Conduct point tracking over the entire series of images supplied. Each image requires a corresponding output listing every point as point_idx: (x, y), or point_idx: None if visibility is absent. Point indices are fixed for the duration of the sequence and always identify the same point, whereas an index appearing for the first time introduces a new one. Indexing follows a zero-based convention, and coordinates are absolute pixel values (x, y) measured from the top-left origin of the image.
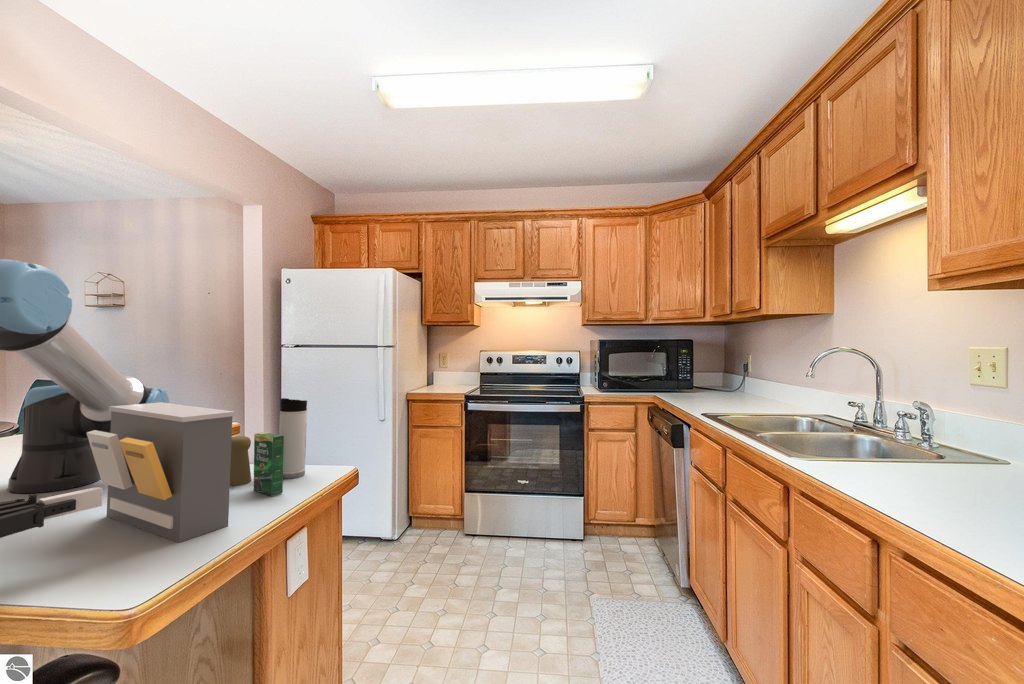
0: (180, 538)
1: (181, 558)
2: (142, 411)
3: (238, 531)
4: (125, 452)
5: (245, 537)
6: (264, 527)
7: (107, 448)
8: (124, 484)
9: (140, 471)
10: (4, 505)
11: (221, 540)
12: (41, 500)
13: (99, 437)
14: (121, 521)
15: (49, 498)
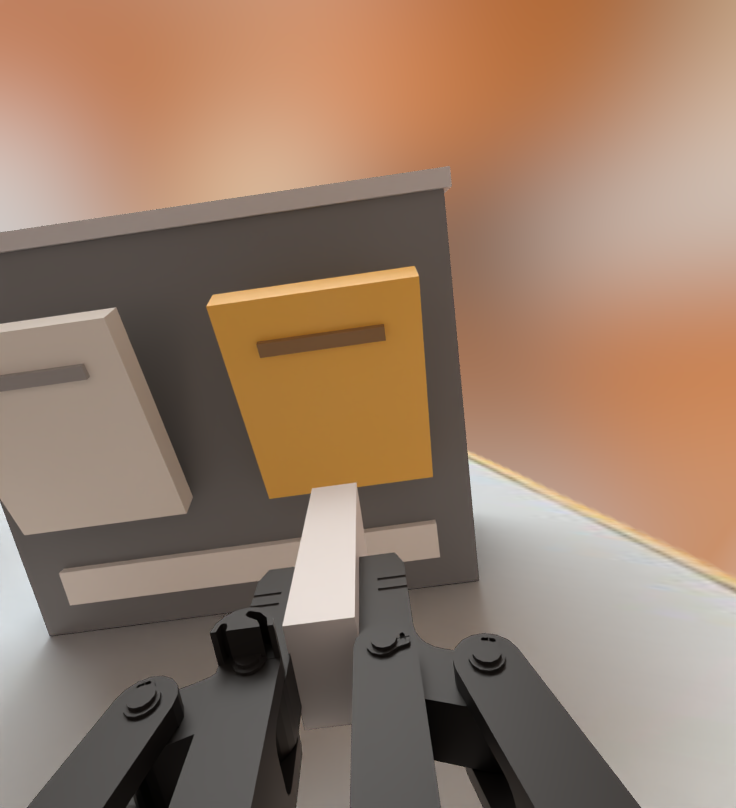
0: (477, 568)
1: (618, 600)
2: (161, 209)
3: (508, 508)
4: (257, 348)
5: (564, 508)
6: (526, 483)
7: (88, 376)
8: (181, 496)
9: (324, 409)
10: (184, 791)
11: (544, 532)
12: (321, 623)
13: (20, 340)
14: (146, 622)
15: (325, 595)
